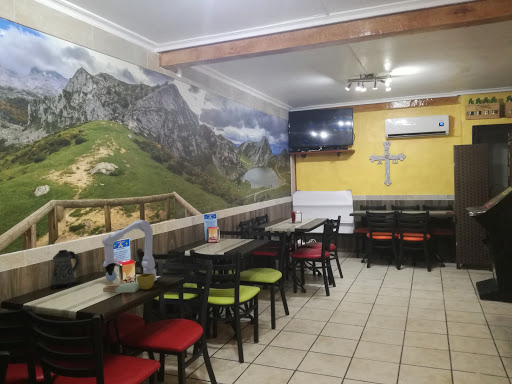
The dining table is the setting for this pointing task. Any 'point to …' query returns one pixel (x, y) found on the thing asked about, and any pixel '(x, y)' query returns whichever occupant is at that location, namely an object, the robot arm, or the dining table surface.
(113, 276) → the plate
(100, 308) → the dining table surface
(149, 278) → the flower pot
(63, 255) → the beer stein
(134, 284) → the grey-green flat piece
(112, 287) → the stand
